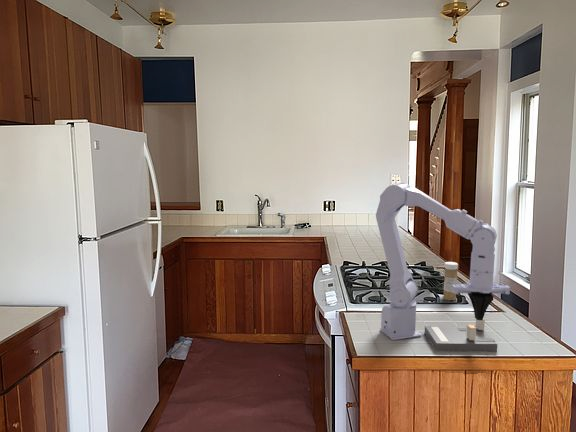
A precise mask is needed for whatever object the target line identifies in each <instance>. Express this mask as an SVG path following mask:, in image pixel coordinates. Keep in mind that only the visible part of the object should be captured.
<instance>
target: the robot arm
mask: <svg viewBox="0 0 576 432" xmlns="http://www.w3.org/2000/svg"><path fill="white" fill-rule="evenodd" d="M404 206H405V207H419V208H421V209H422V210H425V211H426V212H429V213H430V214H432V215H434V216H436V217H438V218H440V219H441V220H443V221H444V224H445V227H446V228H447V229H449V230H451V231H453V232H454V233H456V234H458V235H460V237H463V238H464V239H467V240H470V243H471V244H472V249H471V250H472V251H471V253H470V254H471V255H470V267H469V268H470V269H469V270H470V271H469V283H461V284H459V283H458V284H457V285H452V292H453V293H454V294H456V295H458V294H467V295H468V297H469V300H470V303H471V305H472V308H473V313H474V319H475V320H476V319H477V320H483V318H484V316H485V314H486V312H487V310H488V307H490V304H492V302H493V301H494V295H492V294H504V295H510V291H511V287H510V286H509V285H505V284H494V274H495V273H494V272H495V258H496V257H495V256H496V255H495V250H496V247H495V244H496V241H497V236H498V235H497V234H498V233H497V231H496V229H495V228H494V227H493V226H491V224H490V223H484V222H485V221H483V220H482V219H480V220H478V219H477V218H474V217H473V216H471V215H470V214H467V213H468V211H467V210H465V209H459V208H457V209H453V210H452V209H450V208H448V207H447V206H446V205H443V204H442V203H441V202H439V201H437V200H436V199H434V198H433V197H431V196H429V195H428V194H426V193H425V192H423V191H421V190H419V189H418V188H416V187H413V186H411V185H410V184H407V183H405V182H400V183H396V184H392V185H391V184H390V185H388V186H387V187H386V188H385V189H384V190H383V192H382V193H381V194H380V196H379V202H378V207H377V209H376V213H375V218H376V223H377V226H378V231H379V235H380V238H381V244H382V246H383V247H382V248H383V251H384V254H385V259H386V262H387V263H386V264H387V266H388V267H387V268H388V271H389V274H390V276H389V280H388V284H389V292H388V298H389V301H390V303H389V304H387V305H384V306H383V307H382V309H381V321H380V328H379V330H380V331H381V332H382V333H383V334H384V335H386V336H387V337H388V338H390V339H391V340H392V341H396V340H402V339H408V338H410V339H411V338H418V337H422V334H421V332H420V331H417V330H416V321H417V317H416V316H417V301H416V300H415V299H416V298H415V297H416V296H417V295H418V292H419V286H418V284H417V282H416V281H415V280H414V278H413V275H412V273H411V271H410V270H409V269H408V265H407V261H406V258H405V253H404V249H403V246H402V241H401V237H400V233H399V229H398V226H397V220H396V216H397V215H398V214H399V212H400V211H401V209H402V208H403V207H404Z"/></svg>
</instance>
